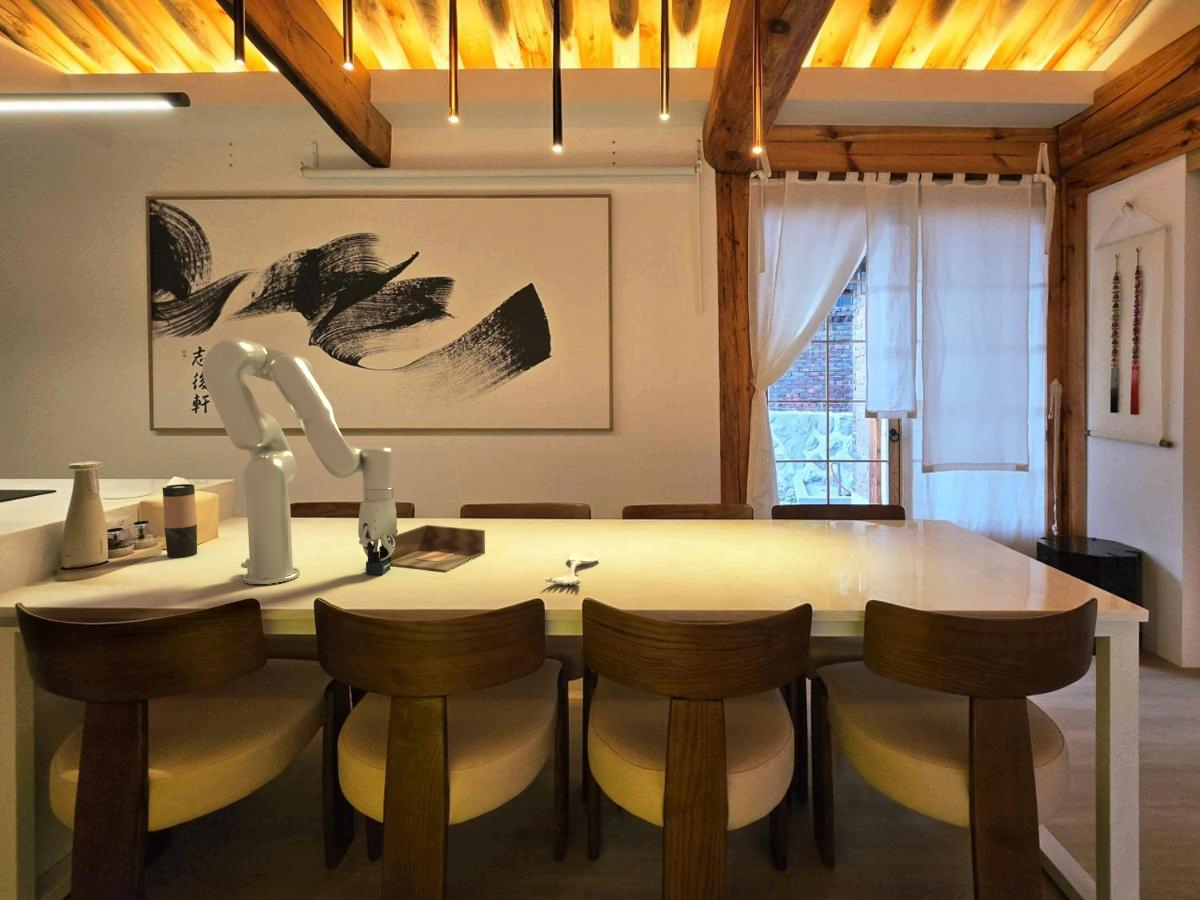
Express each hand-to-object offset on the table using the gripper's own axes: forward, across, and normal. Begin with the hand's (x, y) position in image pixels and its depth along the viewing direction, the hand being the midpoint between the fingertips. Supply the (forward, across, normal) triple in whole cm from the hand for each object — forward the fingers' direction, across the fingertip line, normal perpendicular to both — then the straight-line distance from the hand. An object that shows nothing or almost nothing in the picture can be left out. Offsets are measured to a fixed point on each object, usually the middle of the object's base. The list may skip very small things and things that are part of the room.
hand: (379, 563), depth 162 cm
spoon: (+2, -18, +48) cm, 51 cm away
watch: (+2, 0, 0) cm, 2 cm away
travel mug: (+3, +6, -64) cm, 64 cm away
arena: (+2, -16, +6) cm, 18 cm away
